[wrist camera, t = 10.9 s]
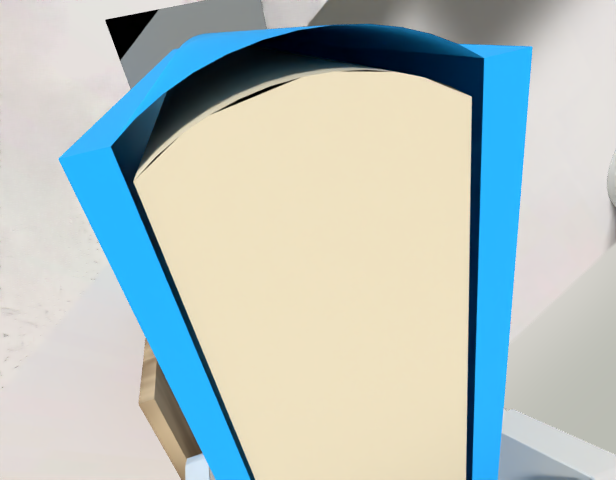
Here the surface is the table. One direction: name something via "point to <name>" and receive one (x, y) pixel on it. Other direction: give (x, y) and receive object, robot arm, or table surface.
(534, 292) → the table surface
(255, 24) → the mat
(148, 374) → the rack
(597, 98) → the table surface
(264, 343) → the book
